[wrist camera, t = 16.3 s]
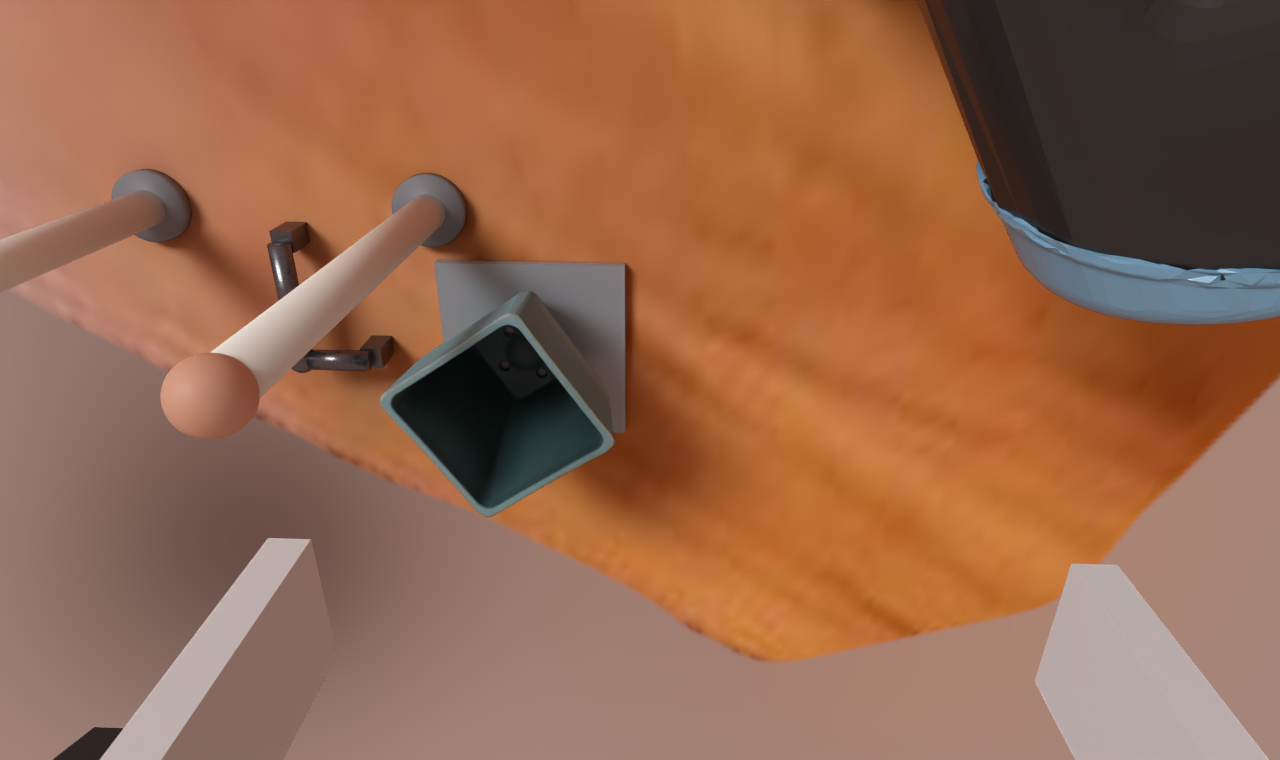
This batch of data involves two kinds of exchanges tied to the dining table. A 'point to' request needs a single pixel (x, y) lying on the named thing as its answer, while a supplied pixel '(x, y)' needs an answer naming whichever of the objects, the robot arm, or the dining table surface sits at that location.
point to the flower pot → (504, 406)
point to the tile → (571, 293)
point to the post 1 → (98, 227)
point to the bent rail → (281, 257)
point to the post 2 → (306, 314)
